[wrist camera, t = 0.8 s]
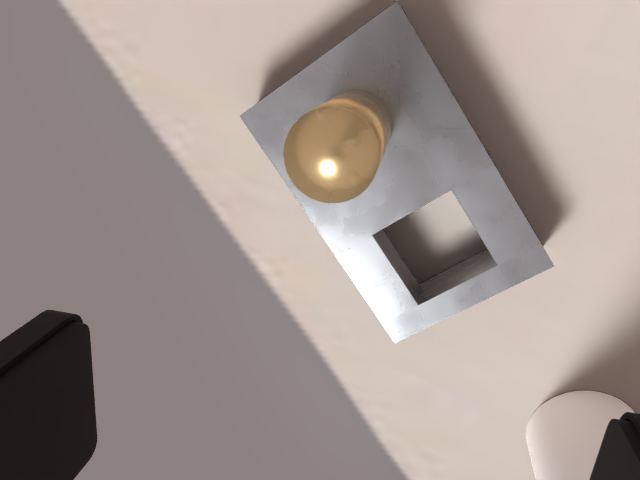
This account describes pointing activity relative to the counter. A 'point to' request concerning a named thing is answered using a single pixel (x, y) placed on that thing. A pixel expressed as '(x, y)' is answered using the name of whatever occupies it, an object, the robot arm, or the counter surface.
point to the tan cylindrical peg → (338, 147)
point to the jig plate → (404, 177)
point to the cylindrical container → (570, 433)
